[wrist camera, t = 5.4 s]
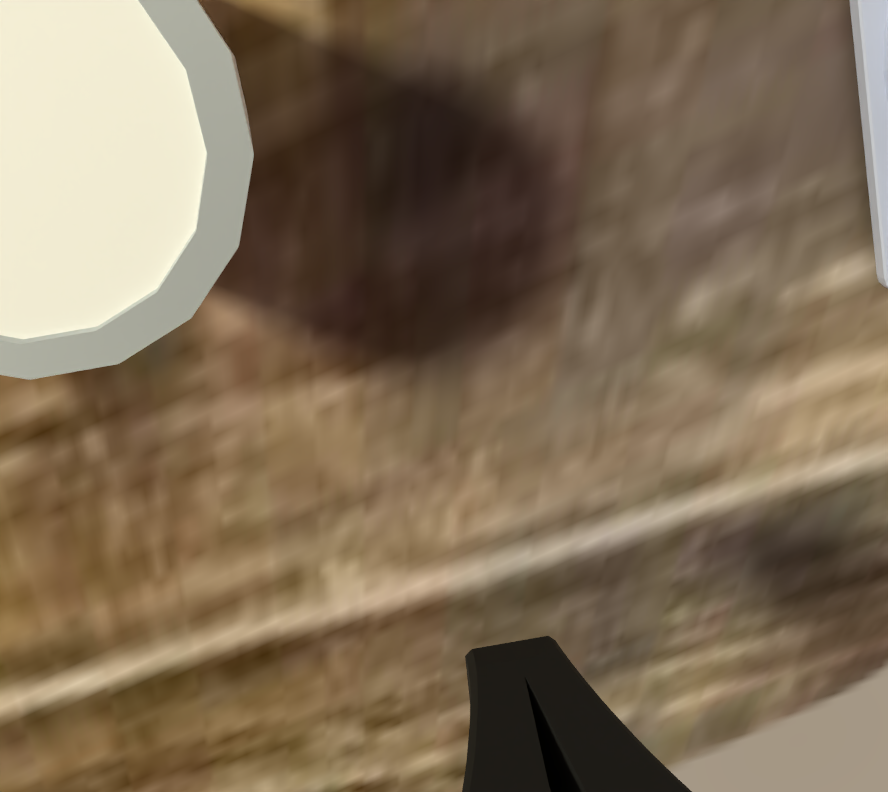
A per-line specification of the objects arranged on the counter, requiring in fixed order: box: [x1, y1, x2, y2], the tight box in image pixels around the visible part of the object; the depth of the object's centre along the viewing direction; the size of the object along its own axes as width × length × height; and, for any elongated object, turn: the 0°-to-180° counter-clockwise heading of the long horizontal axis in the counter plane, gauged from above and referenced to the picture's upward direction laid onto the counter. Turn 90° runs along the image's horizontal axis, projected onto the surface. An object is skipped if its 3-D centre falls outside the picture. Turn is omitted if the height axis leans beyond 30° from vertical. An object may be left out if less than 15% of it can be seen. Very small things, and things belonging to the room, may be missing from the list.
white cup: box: [0, 0, 254, 380], centre depth 14 cm, size 7×7×7 cm
